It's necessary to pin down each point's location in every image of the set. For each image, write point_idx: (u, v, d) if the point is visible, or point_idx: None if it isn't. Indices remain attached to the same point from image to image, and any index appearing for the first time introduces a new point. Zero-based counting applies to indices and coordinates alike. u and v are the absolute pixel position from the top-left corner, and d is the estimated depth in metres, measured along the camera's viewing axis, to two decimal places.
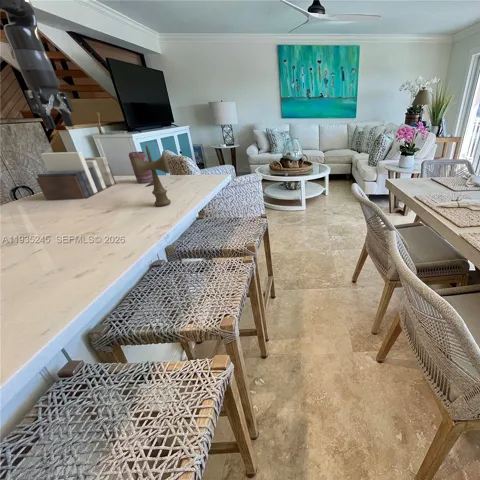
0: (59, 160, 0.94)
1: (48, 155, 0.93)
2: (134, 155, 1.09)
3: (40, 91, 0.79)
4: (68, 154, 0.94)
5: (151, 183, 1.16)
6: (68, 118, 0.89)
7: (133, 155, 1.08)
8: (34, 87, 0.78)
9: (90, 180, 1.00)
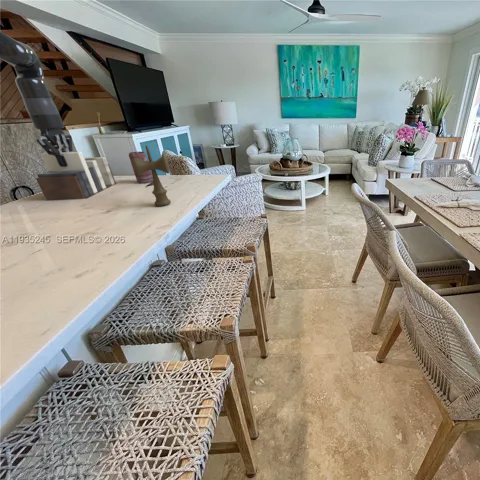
0: None
1: (48, 155, 0.93)
2: (134, 155, 1.09)
3: (47, 134, 0.88)
4: (68, 154, 0.94)
5: (151, 183, 1.16)
6: None
7: (133, 155, 1.08)
8: (41, 130, 0.88)
9: (90, 180, 1.00)
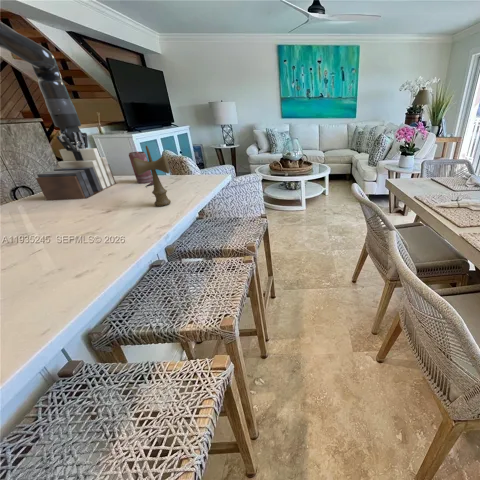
0: None
1: (66, 151, 1.01)
2: (134, 155, 1.09)
3: (66, 132, 0.96)
4: (84, 150, 1.02)
5: (151, 183, 1.16)
6: None
7: (133, 155, 1.08)
8: (61, 127, 0.96)
9: (104, 174, 1.08)
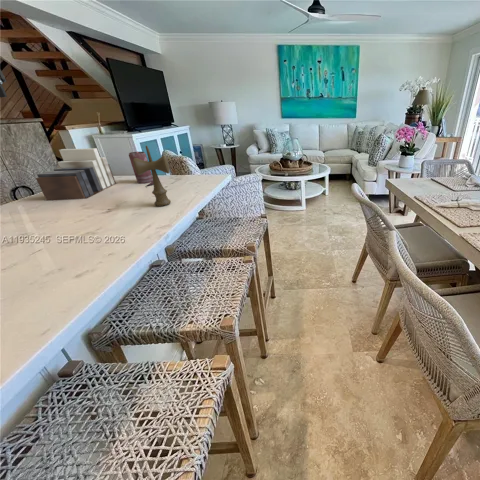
0: (75, 155, 1.02)
1: (66, 151, 1.01)
2: (134, 155, 1.09)
3: None
4: (84, 150, 1.02)
5: (151, 183, 1.16)
6: None
7: (133, 155, 1.08)
8: None
9: (104, 174, 1.08)
